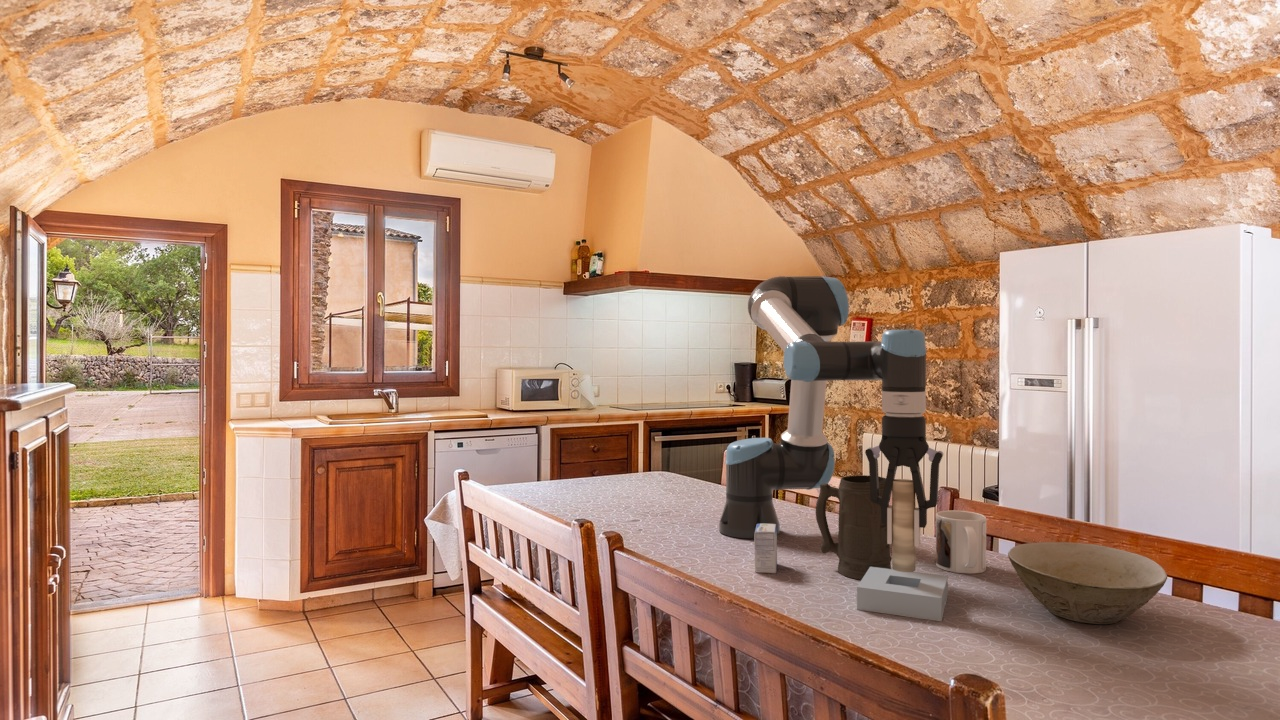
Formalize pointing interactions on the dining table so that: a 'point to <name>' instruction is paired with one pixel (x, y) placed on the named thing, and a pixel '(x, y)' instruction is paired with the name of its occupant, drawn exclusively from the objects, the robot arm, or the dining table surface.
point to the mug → (961, 541)
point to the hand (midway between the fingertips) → (903, 543)
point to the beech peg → (903, 525)
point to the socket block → (903, 593)
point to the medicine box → (765, 548)
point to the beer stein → (855, 526)
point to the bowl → (1087, 579)
